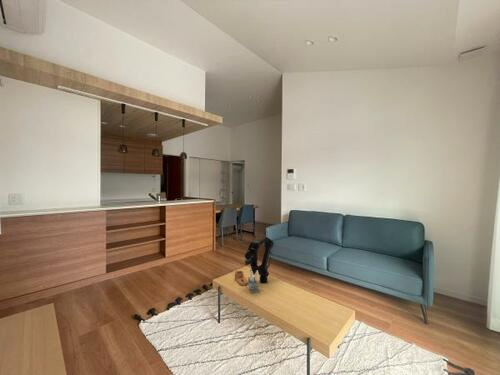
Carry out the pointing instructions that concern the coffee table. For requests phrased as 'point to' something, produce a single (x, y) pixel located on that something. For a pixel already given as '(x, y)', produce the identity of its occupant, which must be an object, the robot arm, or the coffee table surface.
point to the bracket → (240, 278)
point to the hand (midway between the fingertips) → (253, 273)
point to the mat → (254, 291)
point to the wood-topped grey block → (251, 275)
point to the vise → (252, 282)
